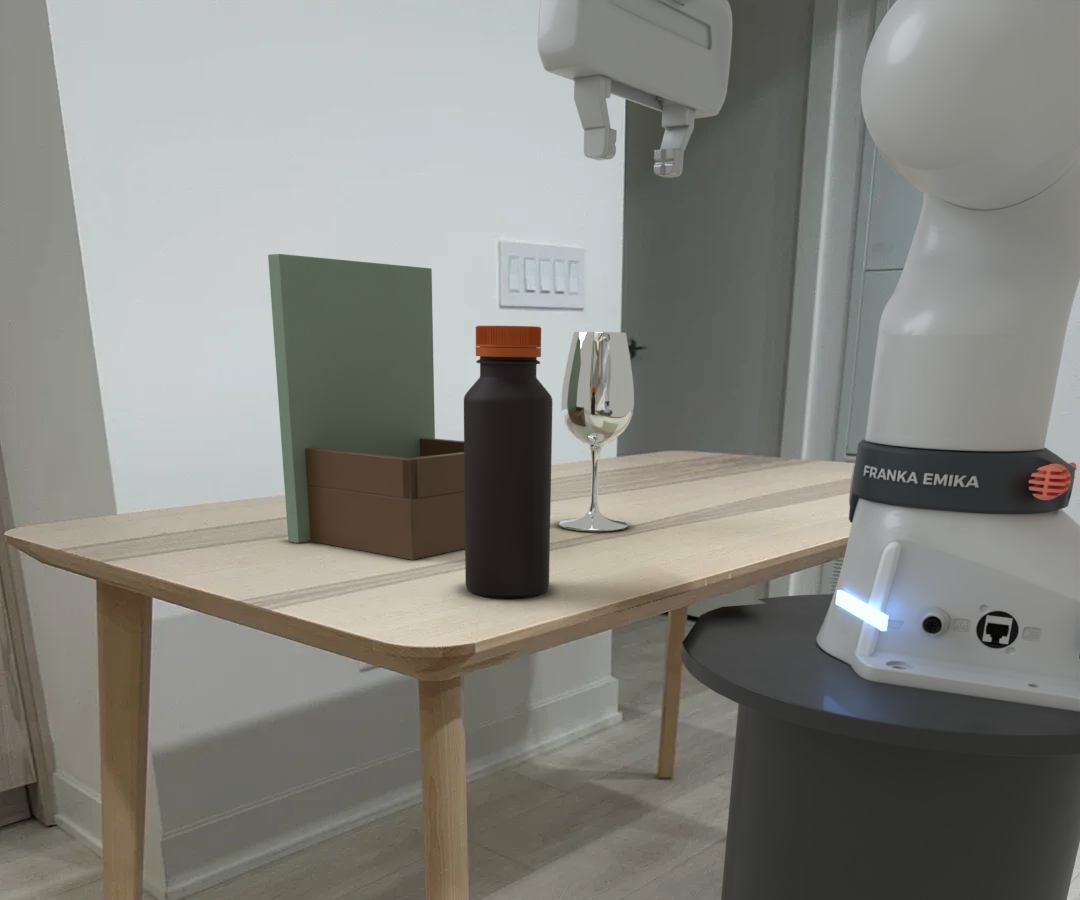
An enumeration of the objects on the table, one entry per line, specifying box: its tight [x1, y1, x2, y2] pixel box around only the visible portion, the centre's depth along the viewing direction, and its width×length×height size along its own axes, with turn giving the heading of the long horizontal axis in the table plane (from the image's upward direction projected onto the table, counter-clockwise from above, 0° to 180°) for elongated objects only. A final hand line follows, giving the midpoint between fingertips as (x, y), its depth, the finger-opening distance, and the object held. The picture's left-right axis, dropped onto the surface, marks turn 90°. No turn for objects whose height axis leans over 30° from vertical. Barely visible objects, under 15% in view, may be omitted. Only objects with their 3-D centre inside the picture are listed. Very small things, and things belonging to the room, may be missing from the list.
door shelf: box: [267, 253, 465, 561], centre depth 99 cm, size 16×20×26 cm
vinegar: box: [463, 325, 553, 599], centre depth 79 cm, size 7×7×20 cm
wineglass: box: [558, 331, 635, 533], centre depth 108 cm, size 8×8×20 cm
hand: (635, 168), depth 75 cm, fingers open, 8 cm apart
